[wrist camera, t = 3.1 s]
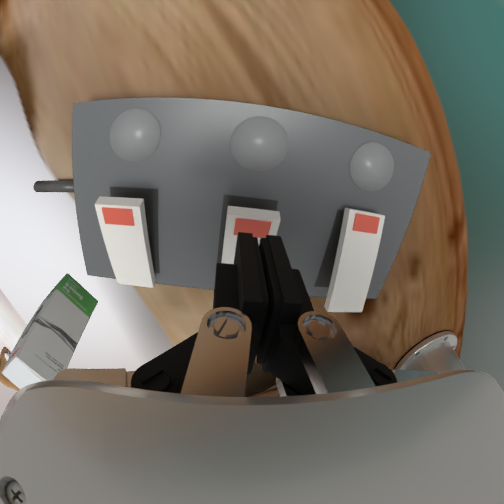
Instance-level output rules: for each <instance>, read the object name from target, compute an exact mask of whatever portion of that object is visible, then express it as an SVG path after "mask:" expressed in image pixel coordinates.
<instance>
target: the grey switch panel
mask: <svg viewBox="0 0 504 504" xmlns="http://www.w3.org/2000/svg"><path fill="white" fill-rule="evenodd" d="M430 154H431V153H430V152H428V151H425V150H423V149H420V148H418V147H415V146H413V145H410V144H408V143H405V142H403V141H400V140H397V139H394V138H392V137H389V136H386V135H383V134H380V133H377V132H374V131H371V130H367V129H364V128H361V127H358V126H354V125H351V124H347V123H344V122H340V121H336V120H332V119H328V118H324V117H320V116H316V115H311V114H307V113H302V112H297V111H292V110H287V109H281V108H276V107H269V106H263V105H256V104H249V103H241V102H232V101H222V100H210V99H195V98H123V99H108V100H97V101H88V102H79V103H73V115H72V163H73V180H62V181H37V182H36V183H35V184H34V190H35V191H36V192H74V193H75V203H76V211H77V219H78V226H79V233H80V239H81V244H82V250H83V256H84V260H85V265H86V270H87V274H88V275H92V276H99V277H107V278H114V279H116V277H115V274H114V271H113V268H112V265H111V262H110V259H109V256H108V252H107V249H106V246H105V242H104V239H103V235H102V232H101V228H100V224H99V220H98V216H97V212H96V208H95V203H96V201H97V200H98V198H99V197H100V196H102V197H123V198H141V199H144V206H145V215H146V223H147V231H148V238H149V245H150V251H151V257H152V263H153V269H154V275H155V283H154V284H163V285H172V286H181V287H191V288H202V289H213V290H214V286H215V274H216V263H221V260H222V251H223V242H224V234H225V226H226V217H227V209H228V206H236V207H245V208H254V209H263V210H271V211H279V213H280V219H281V221H280V224H279V228H278V231H277V235H276V236H281V238H282V241H283V244H284V247H285V250H286V253H287V256H288V259H289V262H290V265H291V268H292V269H298V270H299V271H300V273H301V276H302V279H303V281H304V284H305V287H306V290H307V293H308V295H309V296H314V297H327V294H328V290H329V285H330V281H331V277H332V272H333V267H334V263H335V258H336V253H337V248H338V243H339V238H340V233H341V227H342V221H343V216H344V210H345V208H350V209H356V210H361V211H367V212H372V213H377V214H381V215H385V219H384V225H383V230H382V235H381V240H380V244H379V249H378V253H377V258H376V262H375V266H374V270H373V274H372V278H371V282H370V286H369V289H368V293H367V296H366V298H368V299H377V297H378V295H379V293H380V290H381V288H382V286H383V284H384V282H385V280H386V278H387V276H388V273H389V271H390V269H391V267H392V264H393V262H394V260H395V257H396V255H397V253H398V250H399V248H400V245H401V243H402V240H403V238H404V235H405V233H406V230H407V227H408V225H409V222H410V219H411V216H412V214H413V211H414V208H415V205H416V202H417V199H418V196H419V193H420V190H421V186H422V183H423V180H424V176H425V173H426V169H427V166H428V162H429V158H430Z"/></svg>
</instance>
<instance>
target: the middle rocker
mask: <svg viewBox="0 0 504 504" xmlns="http://www.w3.org/2000/svg"><path fill="white" fill-rule="evenodd" d="M280 221H281V219H280V213H279V211H271V210H263V209H254V208H245V207H236V206H228V209H227V217H226V226H225V234H224V242H223V251H222V260H221V263H226V264H234V257H235V250H236V242H237V235H238V232H244V233H252V234H253V237H257V238H258V243H259V244H260V239H261V238H265V237H266V235H275V236H276V235H277V231H278V228H279V224H280Z"/></svg>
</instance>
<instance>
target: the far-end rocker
mask: <svg viewBox="0 0 504 504" xmlns="http://www.w3.org/2000/svg"><path fill="white" fill-rule="evenodd" d="M384 219H385V215H381V214H377V213H372V212H367V211H361V210H356V209H350V208H345V210H344V216H343V221H342V227H341V233H340V238H339V243H338V248H337V253H336V258H335V263H334V267H333V272H332V277H331V281H330V285H329V290H328V294H327V298H326V302H325V306H324V307H325V309H326V310H327V311H328V312H362V310H363V307H364V303H365V300H366V296H367V293H368V289H369V286H370V282H371V278H372V274H373V270H374V266H375V262H376V258H377V253H378V249H379V244H380V240H381V235H382V230H383V225H384Z"/></svg>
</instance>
